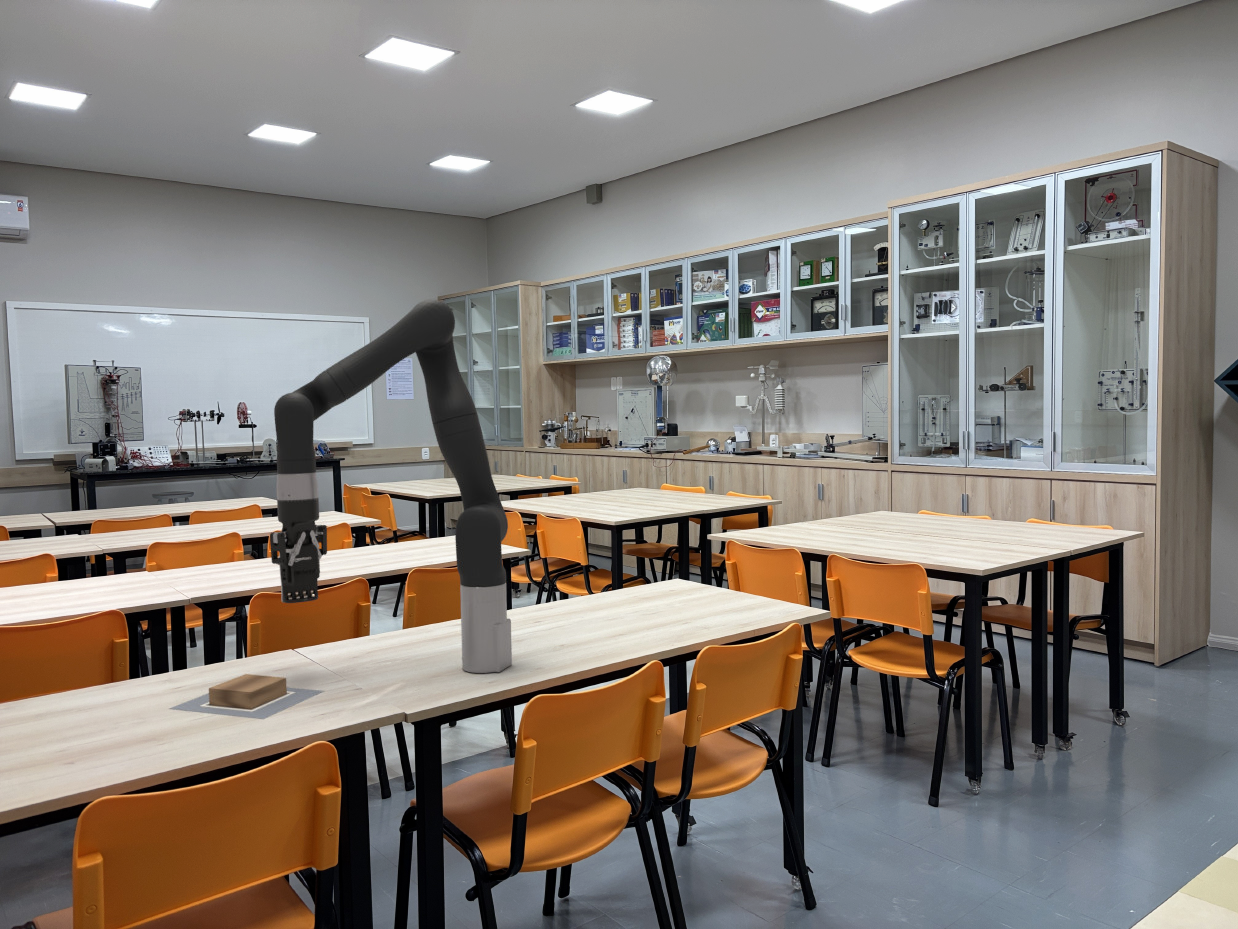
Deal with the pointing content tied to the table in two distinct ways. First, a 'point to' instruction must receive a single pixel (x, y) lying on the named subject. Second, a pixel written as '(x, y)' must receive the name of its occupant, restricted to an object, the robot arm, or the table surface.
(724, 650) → the table surface
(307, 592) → the battery charger
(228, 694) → the base block
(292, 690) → the board
